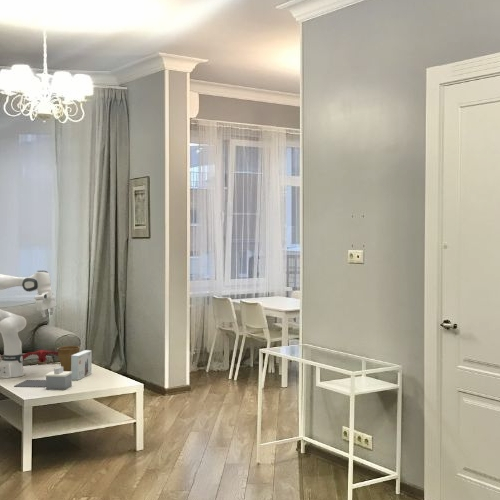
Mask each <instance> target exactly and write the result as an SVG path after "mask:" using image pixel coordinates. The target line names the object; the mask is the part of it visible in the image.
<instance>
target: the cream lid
mask: <svg viewBox="0 0 500 500" xmlns="http://www.w3.org/2000/svg"><path fill="white" fill-rule="evenodd" d="M71 373H72V371H63V367H61V366H57V367H55V368H54V369H53V370H52V371H50V372H47V373H46V374H45V377H46V376H56V377H66V376H68V375H69V374H71Z"/></svg>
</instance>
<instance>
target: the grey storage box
mask: <svg viewBox="0 0 500 500" xmlns="http://www.w3.org/2000/svg"><path fill="white" fill-rule="evenodd" d="M45 380H46V387H45V389H46V390H51V391H52V390H54V391H56V390H57V391H58V390H59V391H60V390H61V391H65V390H68V389H69V388H71V387H72V386H73V383H72V381H73V380H72V373H71V374H69V375H68V376H66V377H56V376H45Z"/></svg>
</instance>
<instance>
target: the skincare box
mask: <svg viewBox="0 0 500 500" xmlns="http://www.w3.org/2000/svg"><path fill="white" fill-rule="evenodd" d="M92 356H93V353H92V350H89V349H86V350H85V349H84V350H82V351H79V353H76V354H74V355H71V371H72V381H78V380H81V379H83V378H85V377H88V376H90V375H92V364H93V363H92V358H93V357H92Z"/></svg>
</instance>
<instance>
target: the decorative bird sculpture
mask: <svg viewBox="0 0 500 500" xmlns="http://www.w3.org/2000/svg"><path fill="white" fill-rule="evenodd" d="M32 355H35V356H37V361H38V363H39V365H41V363H43V365H45V364H46V363H45V362H46V361H47V360H48V358H47V355H55V356H57V357H58V358H59V356H58V351H55V350H52V351H51V350H45V349H39V350H36V351H30V352H26V353H24V354H23V361H25V359H27V358H28V357H30V356H32Z"/></svg>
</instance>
